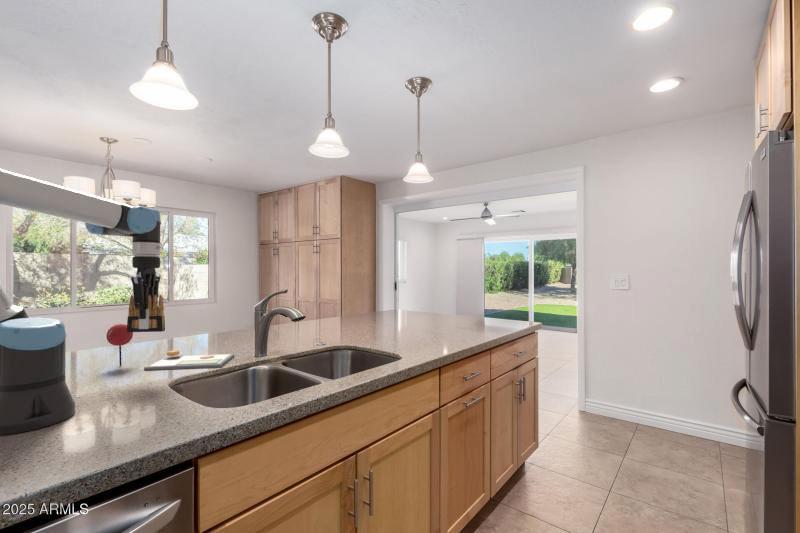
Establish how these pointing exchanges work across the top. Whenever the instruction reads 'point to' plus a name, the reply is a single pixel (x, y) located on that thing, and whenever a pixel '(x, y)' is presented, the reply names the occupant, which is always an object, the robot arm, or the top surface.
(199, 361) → the board
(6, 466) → the top surface
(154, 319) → the ammunition clip
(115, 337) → the lollipop
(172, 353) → the button
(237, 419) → the top surface
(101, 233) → the robot arm
